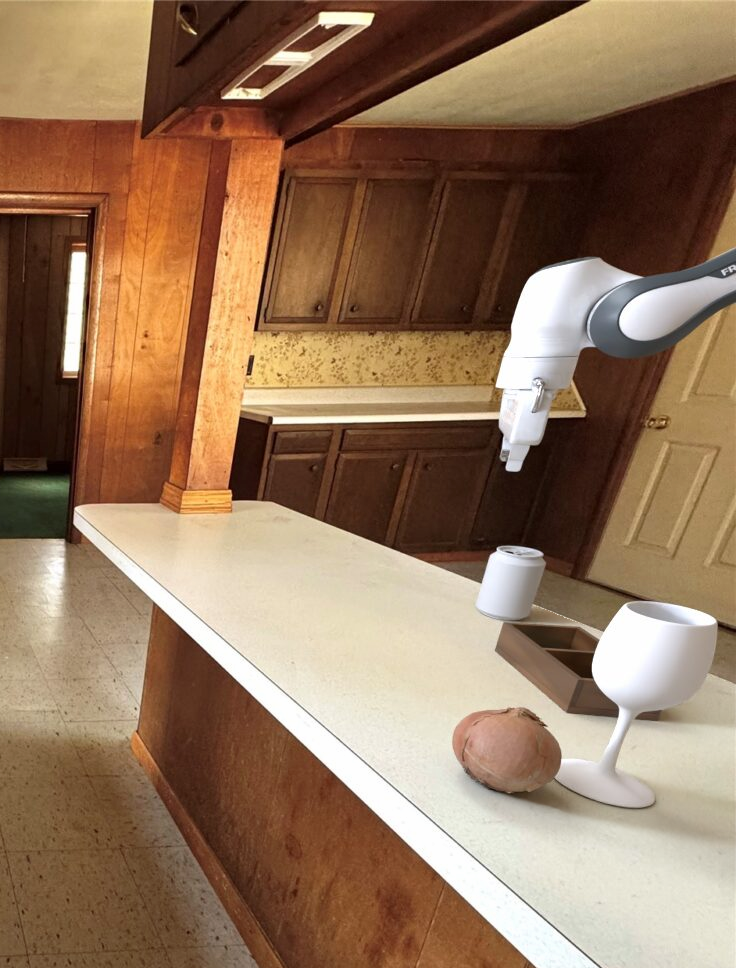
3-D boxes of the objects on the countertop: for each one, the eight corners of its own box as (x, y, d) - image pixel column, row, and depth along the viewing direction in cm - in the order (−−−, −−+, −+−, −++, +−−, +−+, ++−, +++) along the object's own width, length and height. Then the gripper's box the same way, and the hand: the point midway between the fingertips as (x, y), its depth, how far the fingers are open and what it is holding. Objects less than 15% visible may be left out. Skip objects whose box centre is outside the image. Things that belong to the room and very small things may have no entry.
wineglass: (617, 816, 70) (695, 636, 62) (529, 768, 77) (588, 603, 70) (675, 799, 72) (757, 623, 64) (583, 754, 79) (646, 592, 72)
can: (464, 606, 121) (481, 544, 117) (506, 605, 121) (525, 543, 117) (494, 622, 114) (514, 557, 110) (539, 622, 114) (561, 556, 110)
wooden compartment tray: (569, 655, 103) (579, 626, 101) (657, 720, 85) (672, 687, 84) (494, 650, 105) (503, 621, 103) (566, 712, 88) (578, 679, 86)
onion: (491, 787, 79) (529, 711, 78) (561, 821, 70) (606, 736, 69) (417, 759, 79) (454, 683, 78) (477, 789, 70) (520, 703, 69)
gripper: (573, 381, 93) (543, 478, 98) (551, 372, 108) (526, 456, 113) (515, 380, 96) (489, 475, 101) (502, 372, 111) (480, 454, 117)
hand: (509, 465), depth 107 cm, fingers open, 8 cm apart
